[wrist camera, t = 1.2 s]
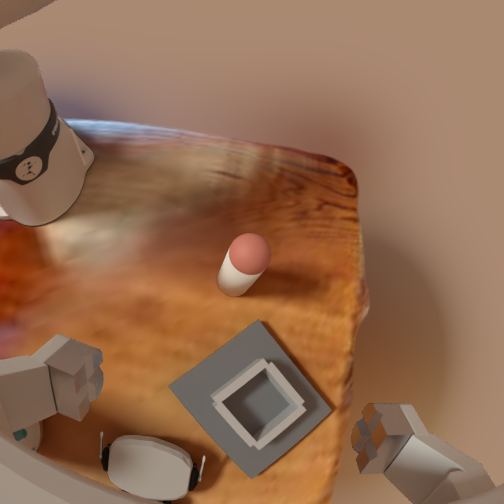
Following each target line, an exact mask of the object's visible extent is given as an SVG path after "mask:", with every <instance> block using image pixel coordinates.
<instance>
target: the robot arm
mask: <svg viewBox="0 0 504 504" xmlns="http://www.w3.org/2000/svg"><path fill="white" fill-rule="evenodd" d="M55 1H57V0H0V29H1V28H3V27H5V26H7V25H9V24H11V23H13V22H15V21H17V20H20V19H22V18H24V17H26V16H28V15H31V14H33V13H35V12H37V11H39V10H41V9H42V8H44V7H46V6H48V5H49V4H51V3H53V2H55ZM82 153H84V154H82ZM93 161H94V154H93V152H92V151H91V150H90V149H89V148H88V147H87V146H86V145H85V143H84V142H83V141H82V140H81V139H80V138H79V137H78V136H77V135H76V134H75V133H74V132H73V130H72V129H70V128H69V127H68V126H67V125H66V124H65V123H64V122H63V121H62V120H61V119H60V118H59V117H58V114H57V111H56V109H55V107H54V105H53V103H52V101H51V100H50V99H49V98H48V97H47V93H46V90H45V87H44V83H43V80H42V77H41V73H40V69H39V65H38V63H37V61H36V60H35V58H34V57H33V56H31V55H30V54H29V53H27V52H24V51H22V50H19V49H0V219H2V220H9V219H13V220H16V221H18V222H20V223H22V224H24V225H30V226H36V225H42V224H45V223H48V222H51V221H53V220H54V219H56V218H58V217H59V216H61V215H62V214H63V213H64V212H66V211H67V210H68V209H69V208H70V207H71V205H72V204H73V203H74V202H75V200H76V199H77V197H78V195H79V194H80V191H81V189H82V186H83V183H84V178H85V174H86V171H87V170H88V168H89V167H90V165H91V164H92V162H93ZM102 362H103V358H102V352H101V350H100V349H98V348H95V347H92V346H90V345H87V344H85V343H82V342H80V341H77V340H75V339H72V338H70V337H67V336H65V335H62V334H57V335H55V336H54V337H53V338H52V339H51V340H49V341H48V342H47V343H46V344H45V345H44V346H42V347H41V348H40V349H39V350H38V351H37V352H35V353H34V354H33V355H32V356H31V357H30V356H28V355H24V356H19V357H14V358H9V359H3V360H0V504H163V503H159V502H156V501H152V500H149V499H145V498H142V497H139V496H136V495H133V494H130V493H127V492H124V491H121V490H118V489H115V488H113V487H110V486H107V485H105V484H102V483H100V482H97V481H95V480H92V479H90V478H88V477H85V476H83V475H81V474H78V473H76V472H74V471H72V470H70V469H68V468H66V467H64V466H62V465H59V464H57V463H56V462H54V461H52V460H50V459H48V458H46V457H44V456H42V455H40V454H39V453H37V452H35V451H33V450H31V449H30V448H28V447H26V446H25V445H23V444H21V443H20V442H18V441H16V440H15V438H14V436H13V432H16V431H18V430H20V429H23V428H25V427H27V426H30V425H32V424H34V423H37V422H39V421H41V420H43V419H46V418H48V417H50V416H52V415H54V414H57V412H58V413H60V414H63V415H65V416H67V417H70V418H72V419H75V420H77V421H79V422H81V421H82V420H83V418H84V417H85V415H86V414H87V412H88V411H89V410H90V404H89V402H92V401H94V400H96V399H97V398H98V396H99V395H100V392H101V389H102V386H103V372H102V370H101V369H100V367H99V365H100V364H101V363H102ZM362 414H363V418H362V419H360V420H359V421H357V422H356V424H355V426H354V428H353V430H352V435H351V444H352V448H353V450H355V451H356V452H357V453H358V456H357V458H356V462H357V465H358V468H359V471H360V474H379V473H384V474H383V475H384V476H385V477H386V478H387V479H388V480H389V481H390V482H391V483H392V484H393V485H394V486H395V487H396V488H397V489H398V490H399V491H400V492H401V493H402V494H403V495H404V496H405V497H407V498H408V499H409V500H410V501H411V502H412V503H413V504H504V484H502V485H499V486H497V487H495V485H494V483H493V482H492V480H491V478H490V477H489V475H488V474H487V472H486V470H485V469H484V467H483V465H482V464H481V463H479V462H477V461H476V460H474V459H472V458H471V457H469V456H467V455H466V454H464V453H463V452H461V451H459V450H458V449H456V448H455V447H453V446H451V445H450V444H448V443H446V442H445V441H443V440H442V439H440V438H439V437H437V436H436V435H434V434H429V433H428V431H427V430H426V428H425V426H424V424H423V423H422V421H421V419H420V418H419V416H418V414H417V413H416V411H415V409H414V408H413V406H412V405H411V404H409V403H395V404H392V403H368V404H367V405H366V406H365V407H364V409H363V411H362Z"/></svg>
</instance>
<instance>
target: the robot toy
mask: <svg viewBox="0 0 504 504" xmlns="http://www.w3.org/2000/svg"><path fill="white" fill-rule="evenodd" d="M100 437H101V443H100V454H99V458H101V459H102V460H101V462H102V465H103V469H104V470H105V471H106V472H107V473H108V476H109V478H110V480H111V481H112V482H113V483H114V484H115V485H116V486H117V487H119V488H121V489H123V490H122V491H124V492H127V493H130V494H133V495H136V496H139V497H142V498H145V499H149V500H152V501H156V502H159V503H163V504H171V501H170V500H177V499H180V498H183V497H184V496H185V495H186V494H187V493H188V491H193V489H194V488H195V487H196V485H197V483H198V481H200V482H201V474H202V470H203V465H204V462H205V455H204V456H203V459H202V465H201V469H200V474H199V472H198V468H197V466H196V464H194V463H193V462H192V460H191V457H190V455H189V454H188V453H187V452H186V451H185V450H184V449H182V448H180V447H179V446H176V445H174V444H172V443H170V442H167V441H164V440H161V439H159V438H156V437H150V436H141V435H124V436H121V437H118V438H116V440H115V441H114V442H113V443H112V444H108V445H107V446H106V447H105V449H104V450H103V452H102V446H103V432H101V434H100Z"/></svg>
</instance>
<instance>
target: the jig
mask: <svg viewBox="0 0 504 504" xmlns="http://www.w3.org/2000/svg"><path fill="white" fill-rule="evenodd" d="M168 387H169V388H170V389H171V390H172V392H173V393H174V394H175V395H176V397H177V398H178V399H179V400H180V402H181V403H182V404H183V405H184V407H185V408H186V409H187V410H188V411H189V413H190V414H191V415H192V416H193V417H194V419H195V420H196V421H197V422H198V423H199V424H200V426H201V427H202V428H203V429H204V430H205V431H206V432H207V433H208V435H209V436H210V437H211V438H212V439H213V440H214V441H215V442H216V443H217V445H218V446H219V447H220V448H221V449H222V450H223V451H224V452H225V453H226V454H227V455H228V456H229V457H230V458H231V459H232V460H233V461H234V462H235V463H236V464H237V465H238V466H239V467H240V468H241V469H242V470H243V471H244V472H245V473H246V474H247V475H248V476H249V477H250V478H251V479H252V478H254V477H255V476H256V475H258V474H259V473H260V472H262V471H263V470H264V469H266V468H267V467H268V466H269V465H271V464H272V463H273V462H274V461H276V460H277V459H278V458H279V457H281V456H282V455H283V454H284V453H285V452H287V451H288V450H289V449H290V448H291V447H293V446H294V445H295V444H296V443H297V442H298V441H300V440H301V439H302V438H303V437H304V436H305V435H306V434H307V433H309V432H310V431H311V430H312V429H313V428H314V427H315V426H316V425H317V424H318V423H319V422H320V421H322V420H323V419H324V418H325V417H326V416H327V415H328V414H329V413H330V412H331V411H332V410H331V408H330V407H329V406H328V405H327V404H326V402H325V401H324V400H323V399H322V398H321V396H320V395H319V394H318V393H317V392H316V390H315V389H314V388H313V387H312V385H311V384H310V383H309V382H308V381H307V379H306V378H305V377H304V376H303V375H302V373H301V372H300V371H299V370H298V368H297V367H296V366H295V365H294V363H293V362H292V361H291V360H290V358H289V357H288V356H287V355H286V354H285V352H284V351H283V350H282V349H281V347H280V346H279V345H278V344H277V342H276V341H275V340H274V338H273V337H272V336H271V335H270V333H269V332H268V331H267V330H266V328H265V327H264V326H263V325H262V323H261V322H260V321H259V319H258V320H256V321H255V322H254V323H252V324H251V325H250V326H248V327H247V328H246V329H245V330H243V331H242V332H241V333H239V334H238V335H237V336H235V337H234V338H233V339H231V340H230V341H229V342H227V343H226V344H225V345H224V346H222V347H221V348H219V349H218V350H217V351H215V352H214V353H213V354H211V355H210V356H209V357H207V358H206V359H205V360H203V361H202V362H201V363H199V364H198V365H196V366H195V367H194V368H192V369H191V370H189V371H188V372H187V373H185V374H184V375H183V376H181V377H180V378H178V379H177V380H175V381H174V382H173V383H171V384H170V385H169V386H168Z"/></svg>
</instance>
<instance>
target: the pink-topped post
mask: <svg viewBox="0 0 504 504" xmlns="http://www.w3.org/2000/svg"><path fill="white" fill-rule="evenodd" d="M270 260H271V249H270V246H269V244H268V242H267V241H266V240H265V239H264V238H263V237H261V236H260V235H257V234H254V233H246V234H243V235H240V236H238V237H237V238H236V239H235V240H234V241H233V242H232V244H231V246H230V248H229V250H228V253H227V255H226V257H225V259H224V262H223V264H222V266H221V269H220V271H219V273H218V276H217V284H218V287H219V289H220V290H221V291H222V292H223V293H224V294H226V295H228V296H231V297H237V296H241V295H243V294H244V293H245V292H246V291H247V290H248V289H249V288H250V286H251V285H252V284H253V283H254V282H255V281H256V280H257V278H258V277H259V276H260V275H261V274H262V273H263V272H264V270H265V269H266V268H267V267H268V265H269V263H270Z"/></svg>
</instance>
